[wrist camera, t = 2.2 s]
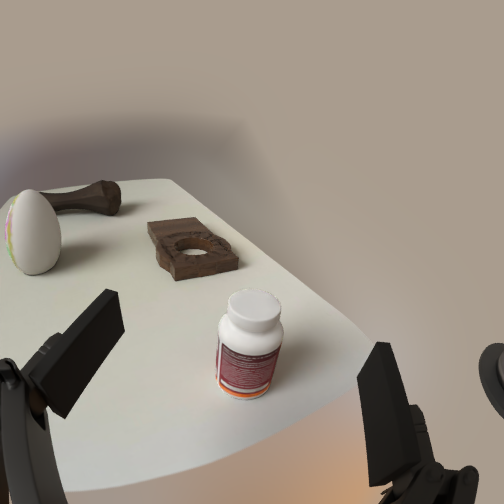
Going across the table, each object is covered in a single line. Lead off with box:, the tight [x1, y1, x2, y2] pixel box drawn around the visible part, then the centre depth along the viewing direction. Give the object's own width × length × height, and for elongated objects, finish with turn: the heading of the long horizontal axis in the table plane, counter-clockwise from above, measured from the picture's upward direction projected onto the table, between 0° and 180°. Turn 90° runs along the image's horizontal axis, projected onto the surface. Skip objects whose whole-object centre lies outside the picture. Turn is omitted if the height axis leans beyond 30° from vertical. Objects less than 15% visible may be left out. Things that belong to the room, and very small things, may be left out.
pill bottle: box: [216, 289, 284, 400], centre depth 26 cm, size 6×6×11 cm
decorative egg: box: [5, 190, 61, 275], centre depth 38 cm, size 12×12×15 cm
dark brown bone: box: [39, 180, 121, 216], centre depth 64 cm, size 11×10×28 cm
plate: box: [147, 217, 239, 281], centre depth 55 cm, size 22×14×2 cm, turn 32°
